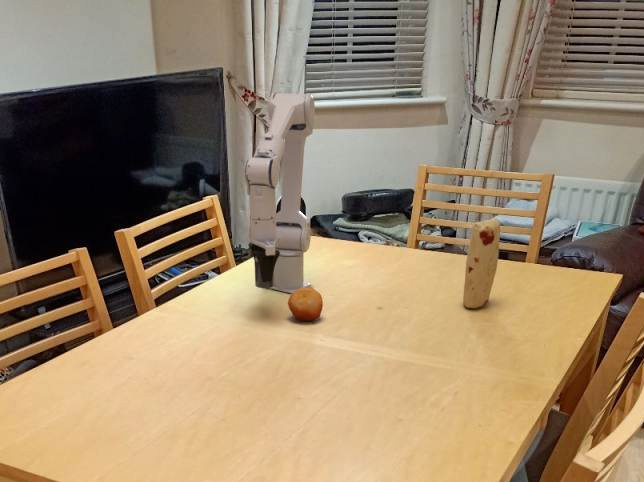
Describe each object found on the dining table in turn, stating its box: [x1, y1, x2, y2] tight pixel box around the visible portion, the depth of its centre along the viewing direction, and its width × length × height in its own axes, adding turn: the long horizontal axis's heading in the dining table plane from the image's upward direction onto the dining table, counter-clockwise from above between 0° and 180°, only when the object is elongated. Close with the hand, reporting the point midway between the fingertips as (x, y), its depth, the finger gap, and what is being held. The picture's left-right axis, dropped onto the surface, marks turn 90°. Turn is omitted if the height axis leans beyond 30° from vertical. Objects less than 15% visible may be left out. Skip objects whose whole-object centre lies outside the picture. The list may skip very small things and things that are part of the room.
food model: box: [462, 218, 501, 309], centre depth 178 cm, size 10×7×20 cm
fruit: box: [287, 286, 324, 322], centre depth 176 cm, size 8×8×8 cm
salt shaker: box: [253, 256, 274, 289], centre depth 173 cm, size 4×4×6 cm
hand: (264, 278), depth 174 cm, fingers closed on salt shaker, 4 cm apart
